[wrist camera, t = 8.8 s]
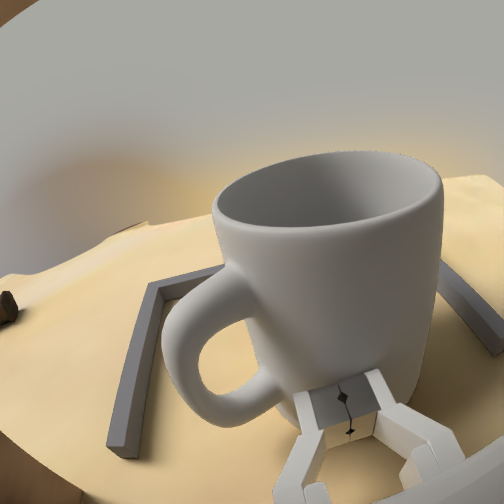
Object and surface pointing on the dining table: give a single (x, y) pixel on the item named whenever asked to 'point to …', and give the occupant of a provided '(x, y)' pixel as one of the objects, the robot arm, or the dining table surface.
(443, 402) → the dining table surface
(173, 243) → the dining table surface
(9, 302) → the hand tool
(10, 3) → the wooden bridge arch
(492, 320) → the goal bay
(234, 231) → the mug
